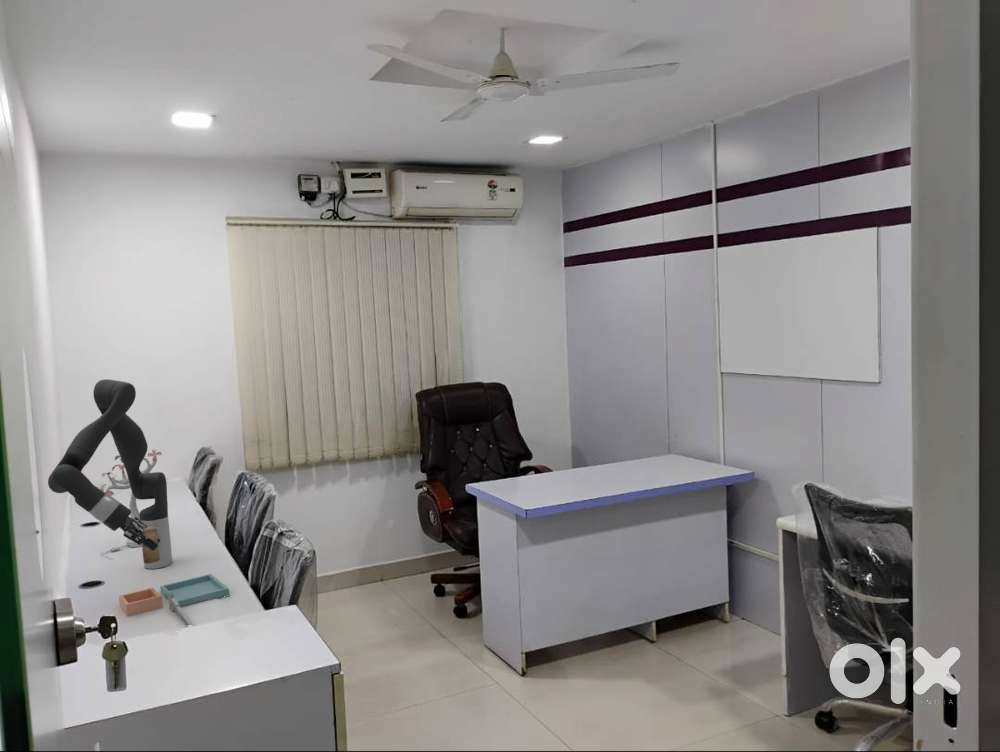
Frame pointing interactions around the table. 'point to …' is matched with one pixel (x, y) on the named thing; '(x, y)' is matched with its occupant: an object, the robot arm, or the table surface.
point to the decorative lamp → (133, 500)
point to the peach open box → (140, 601)
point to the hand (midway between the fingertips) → (157, 545)
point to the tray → (195, 590)
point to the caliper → (177, 609)
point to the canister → (148, 554)
